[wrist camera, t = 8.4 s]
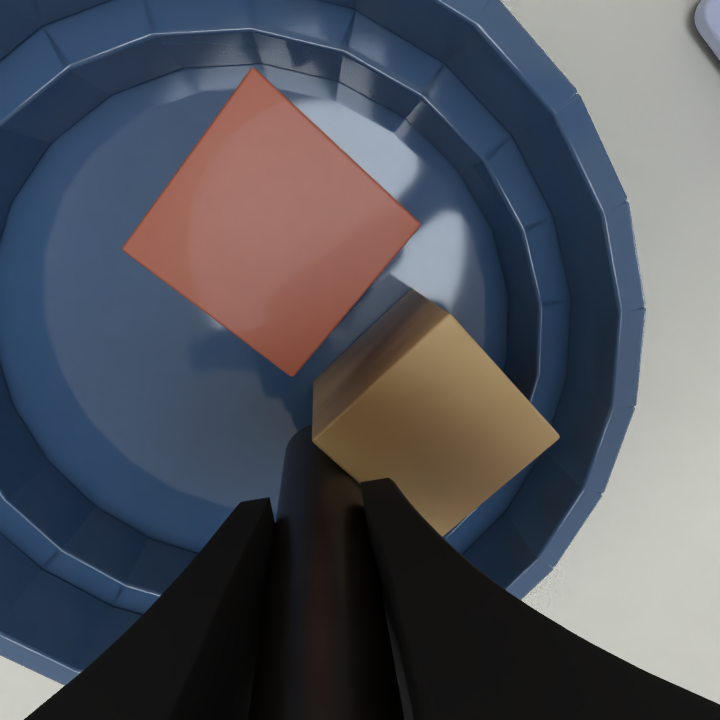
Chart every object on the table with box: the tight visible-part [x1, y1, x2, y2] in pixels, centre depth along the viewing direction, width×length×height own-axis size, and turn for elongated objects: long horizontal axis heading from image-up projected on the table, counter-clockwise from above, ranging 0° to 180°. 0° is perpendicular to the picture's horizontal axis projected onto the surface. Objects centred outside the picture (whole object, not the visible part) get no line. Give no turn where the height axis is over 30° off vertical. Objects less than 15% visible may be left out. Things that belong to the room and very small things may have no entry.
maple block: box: [312, 289, 560, 537], centre depth 12 cm, size 4×4×4 cm
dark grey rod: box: [248, 425, 404, 720], centre depth 8 cm, size 2×2×9 cm
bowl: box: [0, 0, 646, 685], centre depth 12 cm, size 17×17×4 cm
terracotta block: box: [122, 68, 421, 377], centre depth 11 cm, size 4×4×4 cm
